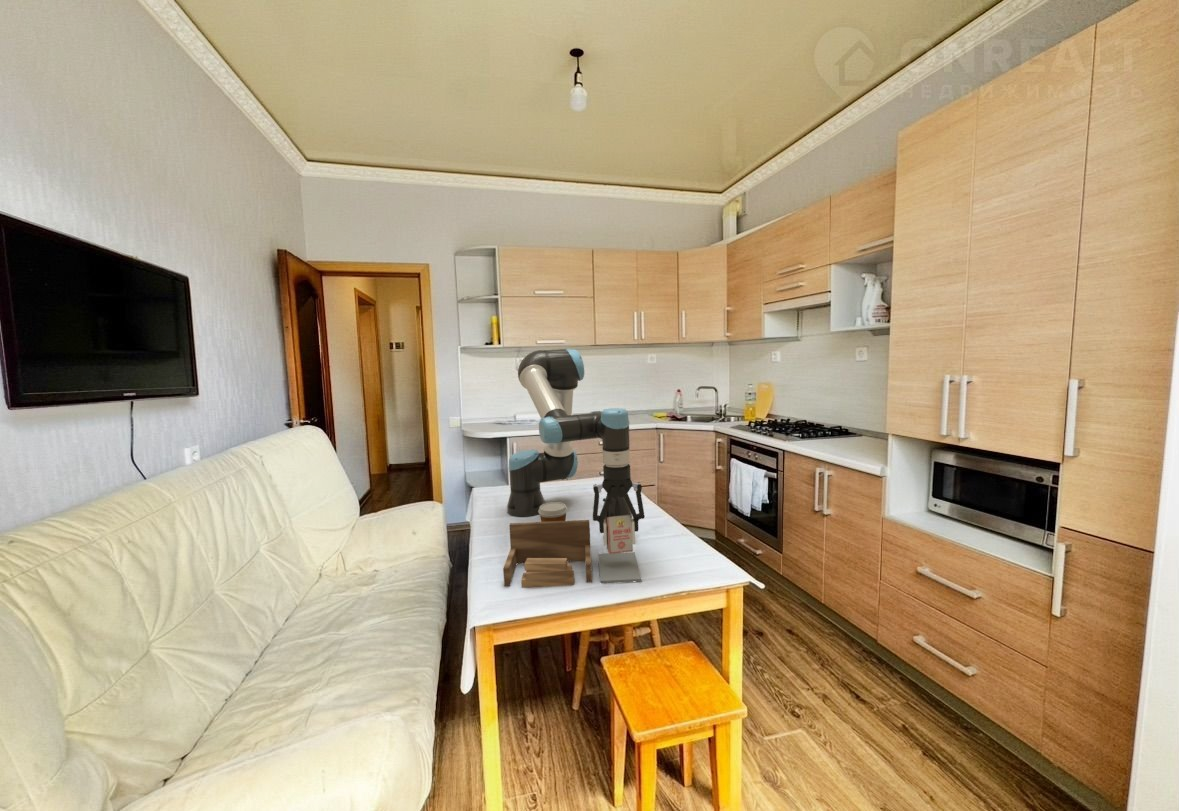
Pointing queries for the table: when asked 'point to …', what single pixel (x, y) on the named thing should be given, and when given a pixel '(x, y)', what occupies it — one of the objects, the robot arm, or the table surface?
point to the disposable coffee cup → (552, 512)
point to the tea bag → (619, 534)
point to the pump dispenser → (617, 508)
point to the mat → (618, 567)
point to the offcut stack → (547, 572)
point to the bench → (548, 544)
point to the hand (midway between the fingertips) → (619, 542)
